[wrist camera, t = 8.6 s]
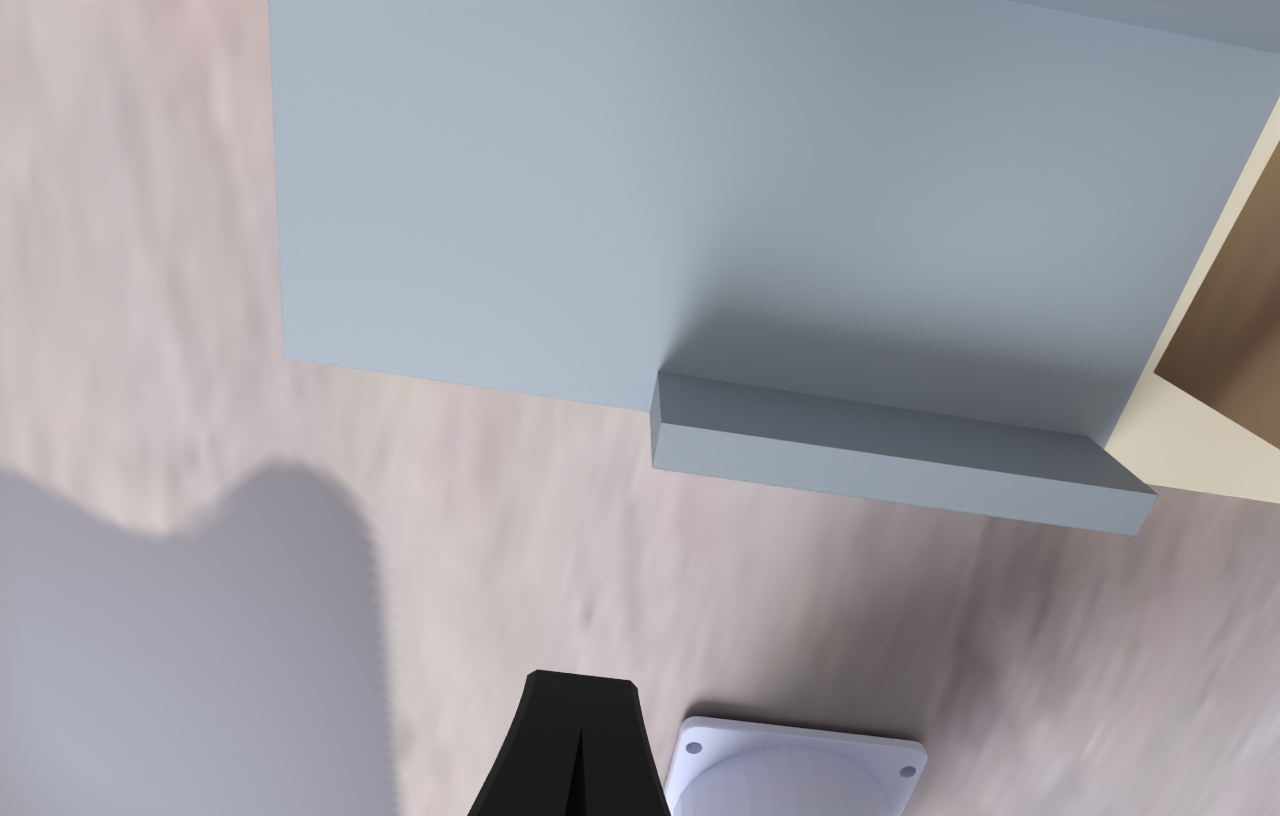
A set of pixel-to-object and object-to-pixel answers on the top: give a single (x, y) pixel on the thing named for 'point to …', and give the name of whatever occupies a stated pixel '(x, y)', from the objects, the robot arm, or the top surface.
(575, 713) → the robot arm
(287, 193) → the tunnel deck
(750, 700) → the top surface
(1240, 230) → the block
